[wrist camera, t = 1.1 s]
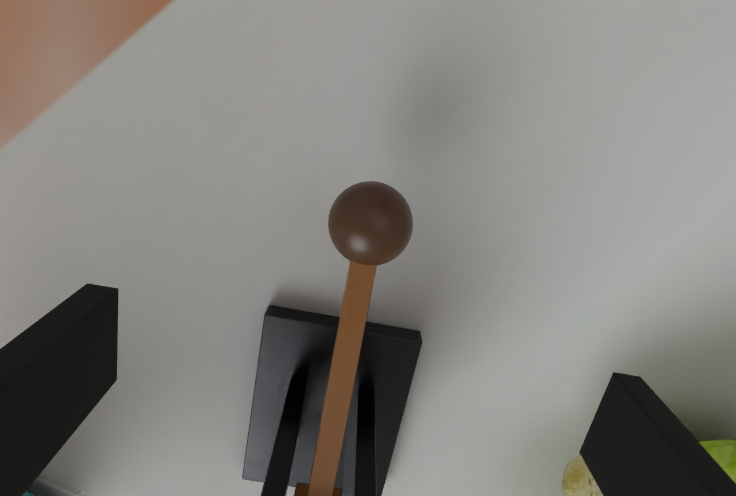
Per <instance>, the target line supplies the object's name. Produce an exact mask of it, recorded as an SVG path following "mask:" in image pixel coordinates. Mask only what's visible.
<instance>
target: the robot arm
mask: <svg viewBox="0 0 736 496" xmlns="http://www.w3.org/2000/svg"><path fill="white" fill-rule="evenodd" d="M117 334H118V289H117V288H111V287H105V286H100V285H94V284H88V283H87V284H86V285H85V286H83V287H82V288H81V289H79V290H78V291H77V292H75V293H74V294H73V295H71V296H70V297H69V298H67V299H66V300H65V301H63V302H62V303H61V304H59V305H58V306H57V307H55V308H54V309H53V310H51V311H50V312H49V313H47V314H46V315H45V316H43V317H42V318H41V319H39V320H38V321H37V322H35V323H34V324H33V325H31V326H30V327H29V328H28V329H26V330H25V331H24V332H22V333H21V334H20V335H18V336H17V337H16V338H14V339H13V340H12V341H10V342H9V343H8V344H6V345H5V346H4V347H2V348H1V349H0V496H22V495H23V494H24V493H25V491H26V490H27V489H28V488H29V487H30V485H31V484H32V483H33V482H34V480H35V479H36V478H37V477H38V476H39V474H40V473H41V472H42V471H43V469H44V468H45V467H46V466H47V465H48V463H49V462H50V461H51V460H52V458H53V457H54V456H55V455H56V454H57V452H58V451H59V450H60V449H61V447H62V446H63V445H64V444H65V443H66V441H67V440H68V439H69V438H70V436H71V435H72V434H73V433H74V431H75V430H76V429H77V428H78V427H79V425H80V424H81V423H82V422H83V420H84V419H85V418H86V417H87V416H88V414H89V413H90V412H91V411H92V409H93V408H94V407H95V406H96V405H97V403H98V402H99V401H100V400H101V398H102V397H103V396H104V395H105V394H106V392H107V391H108V390H109V389H110V387H111V386H112V385H113V384H114V383H115V381H116V380H117ZM579 453H580V455H581V456H582V458H583V460H584V462H585V464H586V465H587V467H588V469H589V471H590V473H591V474H592V476H593V478H594V480H595V482H596V483H597V485H598V487H599V489H600V491H601V492H602V494H603V496H736V483H735V482H734V481H733V480H732V479H731V478H730V477H729V475H728V474H727V473H726V472H725V471H724V470H723V469H722V468H721V466H720V465H719V464H718V463H717V462H716V461H715V460H714V459H713V457H712V456H711V455H710V454H709V453H708V452H707V451H706V450H705V449H704V447H703V446H702V445H701V444H700V443H699V442H698V441H697V440H696V438H695V437H694V436H693V435H692V434H691V433H690V432H689V431H688V430H687V428H686V427H685V426H684V425H683V424H682V423H681V422H680V421H679V419H678V418H677V417H676V416H675V415H674V414H673V413H672V412H671V411H670V409H669V408H668V407H667V406H666V405H665V404H664V403H663V402H662V400H661V399H660V398H659V397H658V396H657V395H656V394H655V393H654V391H653V390H652V389H651V388H650V387H649V386H648V385H647V384H646V383H645V381H644V380H643V379H642V378H641V377H639V376H633V375H627V374H621V373H615V372H613V374H612V377H611V379H610V381H609V384H608V386H607V389H606V391H605V393H604V396H603V398H602V400H601V403H600V405H599V407H598V410H597V412H596V414H595V417H594V419H593V421H592V424H591V426H590V429H589V431H588V433H587V436H586V438H585V440H584V443H583V445H582V447H581V450H580V452H579Z"/></svg>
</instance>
